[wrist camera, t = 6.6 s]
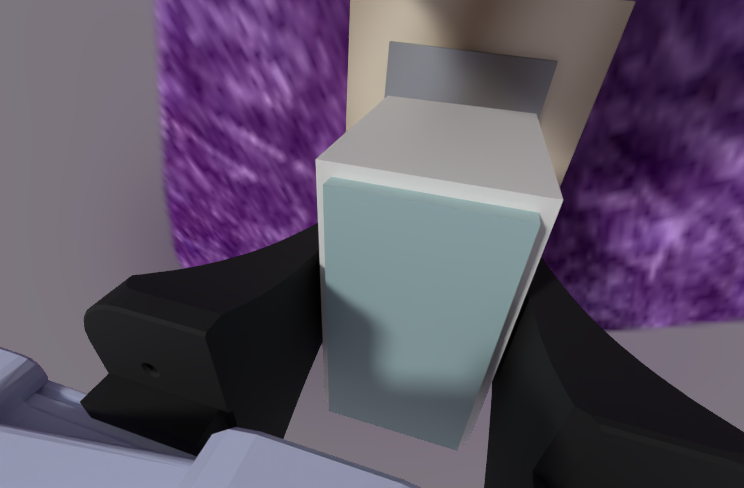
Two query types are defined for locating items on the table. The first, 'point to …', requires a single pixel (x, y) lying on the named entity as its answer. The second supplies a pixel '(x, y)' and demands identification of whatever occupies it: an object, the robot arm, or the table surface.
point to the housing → (427, 259)
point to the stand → (488, 58)
